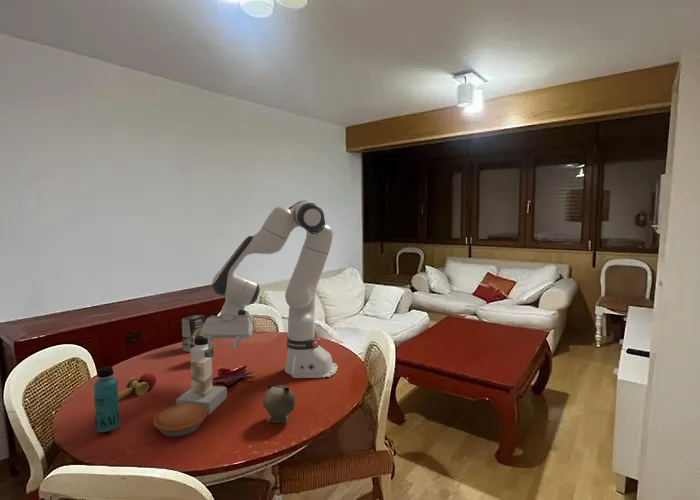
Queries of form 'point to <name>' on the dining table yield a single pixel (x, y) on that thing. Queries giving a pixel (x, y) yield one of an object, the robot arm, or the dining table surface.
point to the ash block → (201, 376)
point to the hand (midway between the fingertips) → (221, 347)
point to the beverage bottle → (106, 400)
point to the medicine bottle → (201, 348)
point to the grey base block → (205, 398)
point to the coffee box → (191, 330)
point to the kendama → (138, 385)
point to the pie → (180, 419)
